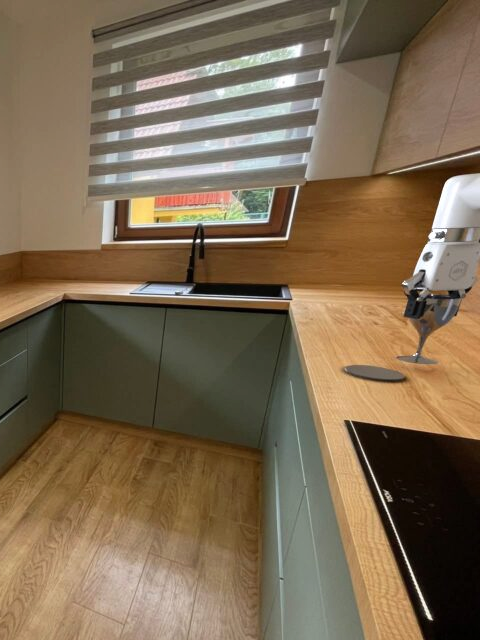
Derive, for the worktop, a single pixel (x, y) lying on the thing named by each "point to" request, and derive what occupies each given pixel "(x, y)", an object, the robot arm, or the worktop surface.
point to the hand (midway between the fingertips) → (429, 316)
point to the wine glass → (431, 322)
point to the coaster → (374, 373)
